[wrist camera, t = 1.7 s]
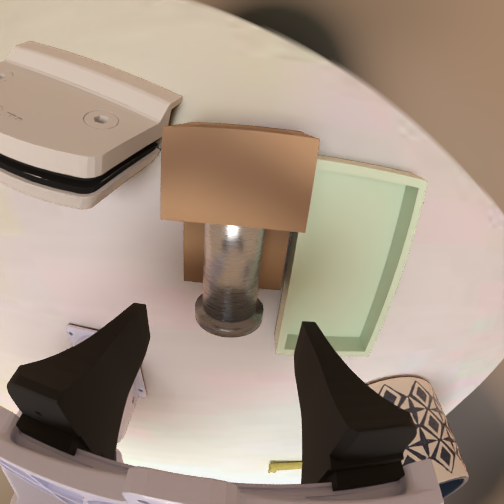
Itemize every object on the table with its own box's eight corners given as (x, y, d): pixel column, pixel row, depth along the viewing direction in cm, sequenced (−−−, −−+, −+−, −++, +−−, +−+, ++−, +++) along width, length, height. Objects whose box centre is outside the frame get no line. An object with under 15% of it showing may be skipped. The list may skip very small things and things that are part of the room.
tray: (361, 337, 26) (368, 356, 23) (274, 333, 26) (275, 354, 23) (411, 172, 19) (427, 181, 17) (303, 152, 19) (309, 158, 17)
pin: (261, 299, 23) (262, 340, 18) (201, 293, 23) (189, 333, 18) (280, 153, 18) (287, 164, 14) (206, 146, 18) (190, 156, 14)
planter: (423, 352, 27) (474, 462, 14) (436, 410, 33) (466, 489, 20) (293, 410, 31) (301, 524, 18) (339, 452, 37) (350, 532, 24)
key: (265, 457, 38) (265, 469, 36) (346, 446, 37) (348, 457, 35) (271, 472, 41) (272, 483, 39) (343, 463, 40) (345, 473, 38)
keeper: (279, 278, 23) (284, 336, 17) (188, 269, 23) (166, 323, 17) (300, 131, 18) (319, 139, 12) (193, 122, 18) (162, 126, 12)
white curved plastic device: (187, 98, 17) (95, 168, 10) (165, 153, 21) (86, 242, 13) (27, 40, 14) (-69, 82, 7) (20, 86, 17) (-65, 138, 10)
